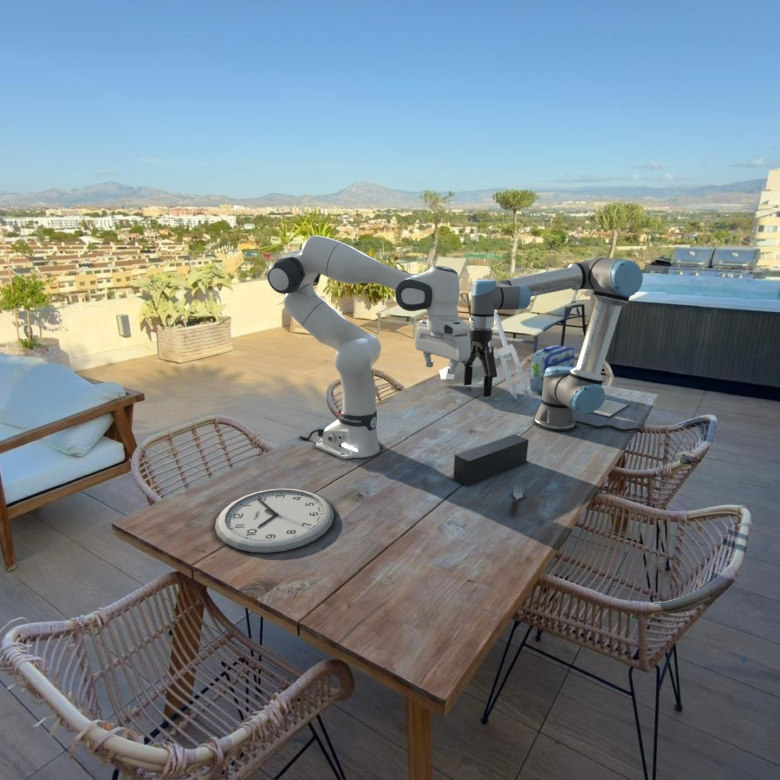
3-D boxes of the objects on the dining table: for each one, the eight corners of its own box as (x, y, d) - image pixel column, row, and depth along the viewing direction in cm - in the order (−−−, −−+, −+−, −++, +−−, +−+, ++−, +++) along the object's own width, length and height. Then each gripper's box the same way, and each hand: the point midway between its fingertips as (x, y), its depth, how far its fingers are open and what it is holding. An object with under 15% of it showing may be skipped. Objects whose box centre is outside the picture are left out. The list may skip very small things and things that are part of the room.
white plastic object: (461, 429, 252) (437, 405, 227) (444, 352, 274) (420, 323, 250) (535, 404, 240) (518, 377, 215) (510, 326, 262) (492, 293, 237)
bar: (512, 456, 176) (514, 434, 173) (526, 462, 171) (528, 439, 169) (453, 478, 159) (454, 454, 157) (467, 485, 155) (468, 461, 153)
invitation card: (608, 416, 214) (573, 407, 224) (608, 416, 214) (573, 408, 224) (628, 404, 229) (594, 396, 238) (628, 405, 229) (594, 397, 238)
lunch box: (546, 398, 236) (551, 353, 229) (525, 393, 243) (529, 349, 237) (573, 387, 253) (579, 344, 247) (553, 382, 260) (558, 341, 254)
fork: (506, 517, 138) (507, 510, 138) (514, 490, 152) (515, 483, 152) (516, 518, 137) (517, 512, 137) (523, 491, 152) (524, 485, 151)
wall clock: (332, 544, 122) (200, 548, 120) (332, 550, 123) (201, 555, 120) (334, 484, 151) (228, 486, 148) (334, 489, 151) (228, 491, 149)
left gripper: (410, 319, 157) (409, 364, 161) (459, 330, 141) (456, 379, 146) (426, 317, 161) (424, 361, 165) (475, 328, 145) (472, 376, 149)
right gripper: (454, 322, 180) (450, 381, 187) (490, 336, 158) (485, 402, 164) (473, 321, 183) (469, 379, 189) (511, 335, 160) (505, 400, 167)
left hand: (440, 370), depth 155 cm, fingers open, 8 cm apart
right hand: (476, 390), depth 177 cm, fingers open, 13 cm apart
